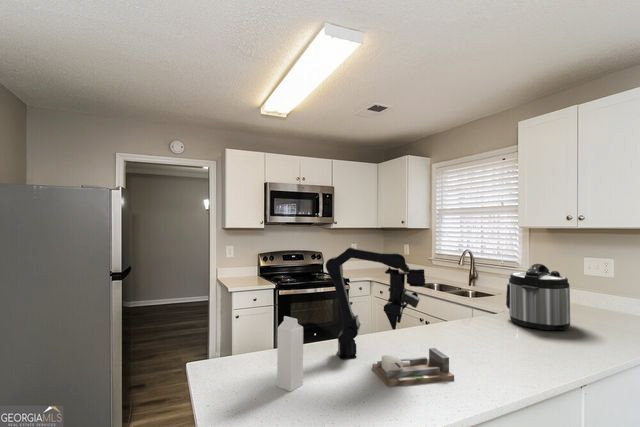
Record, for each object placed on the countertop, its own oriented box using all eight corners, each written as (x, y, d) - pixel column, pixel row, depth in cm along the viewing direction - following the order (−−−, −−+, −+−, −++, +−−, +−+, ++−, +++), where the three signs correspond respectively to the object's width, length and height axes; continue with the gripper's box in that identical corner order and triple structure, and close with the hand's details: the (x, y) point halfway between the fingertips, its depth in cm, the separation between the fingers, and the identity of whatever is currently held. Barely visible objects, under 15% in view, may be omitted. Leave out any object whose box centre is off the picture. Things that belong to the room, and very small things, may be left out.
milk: (289, 379, 113) (289, 313, 114) (303, 384, 110) (303, 316, 110) (276, 386, 108) (277, 317, 109) (290, 392, 105) (291, 321, 105)
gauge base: (387, 386, 108) (387, 366, 109) (372, 368, 122) (372, 350, 122) (454, 379, 113) (454, 360, 114) (432, 362, 127) (432, 345, 127)
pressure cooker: (541, 315, 193) (540, 260, 194) (587, 331, 166) (586, 266, 166) (494, 317, 189) (493, 261, 190) (533, 334, 161) (533, 267, 162)
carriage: (392, 379, 110) (392, 367, 110) (381, 367, 119) (381, 355, 119) (418, 377, 111) (418, 365, 112) (405, 365, 121) (405, 353, 121)
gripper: (414, 292, 118) (414, 336, 118) (421, 283, 135) (421, 322, 135) (383, 288, 123) (382, 331, 122) (394, 281, 140) (393, 318, 139)
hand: (396, 325), depth 130 cm, fingers open, 9 cm apart
